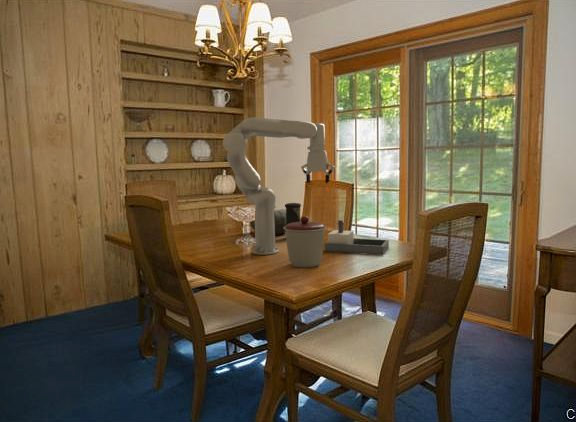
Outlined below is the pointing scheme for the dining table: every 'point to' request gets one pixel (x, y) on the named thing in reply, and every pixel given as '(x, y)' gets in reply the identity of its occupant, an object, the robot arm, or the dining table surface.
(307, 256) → the canister
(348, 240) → the block with upright handle
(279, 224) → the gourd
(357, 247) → the bay
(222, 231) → the dining table surface
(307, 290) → the dining table surface
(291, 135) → the robot arm
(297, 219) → the container
